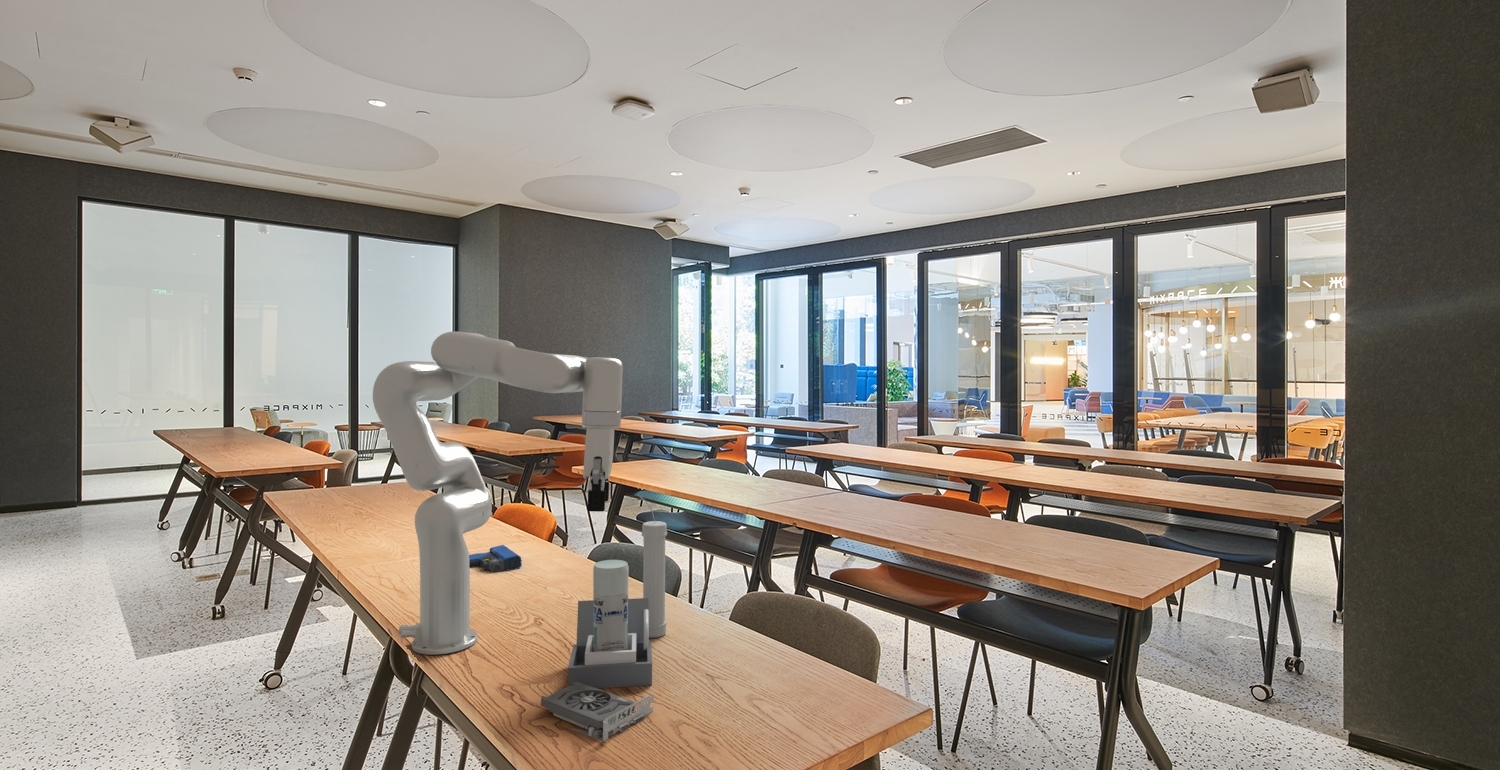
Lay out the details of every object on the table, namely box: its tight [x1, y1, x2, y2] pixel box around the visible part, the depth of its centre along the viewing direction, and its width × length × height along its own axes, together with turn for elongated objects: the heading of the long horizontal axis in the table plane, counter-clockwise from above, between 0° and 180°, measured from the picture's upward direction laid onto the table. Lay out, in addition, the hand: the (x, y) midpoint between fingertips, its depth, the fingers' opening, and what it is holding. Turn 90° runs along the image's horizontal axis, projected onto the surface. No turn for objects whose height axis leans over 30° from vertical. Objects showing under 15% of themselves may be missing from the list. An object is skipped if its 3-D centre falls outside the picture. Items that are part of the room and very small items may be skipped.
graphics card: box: [540, 682, 654, 743], centre depth 118 cm, size 17×4×12 cm
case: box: [567, 597, 653, 689], centre depth 136 cm, size 15×16×11 cm
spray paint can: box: [592, 559, 629, 652], centre depth 133 cm, size 6×6×20 cm
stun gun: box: [469, 544, 523, 573], centre depth 207 cm, size 4×16×15 cm
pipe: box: [639, 496, 668, 639], centre depth 154 cm, size 6×6×30 cm
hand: (598, 506), depth 140 cm, fingers open, 9 cm apart
